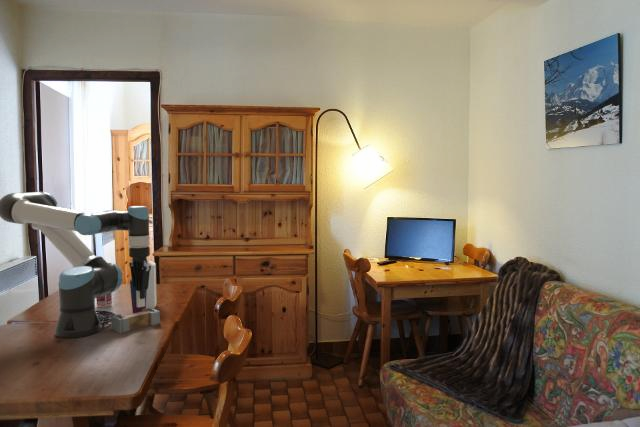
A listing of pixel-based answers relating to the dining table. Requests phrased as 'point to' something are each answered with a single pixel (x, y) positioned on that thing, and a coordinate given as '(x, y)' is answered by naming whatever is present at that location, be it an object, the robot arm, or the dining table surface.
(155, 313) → the endcap far
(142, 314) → the slat
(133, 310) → the cup
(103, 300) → the pill bottle
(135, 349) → the dining table surface
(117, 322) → the grey u-shaped bracket
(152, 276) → the milk
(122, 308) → the dining table surface
